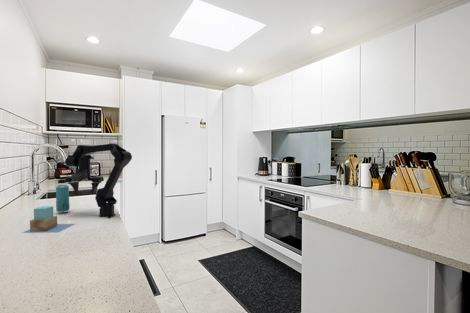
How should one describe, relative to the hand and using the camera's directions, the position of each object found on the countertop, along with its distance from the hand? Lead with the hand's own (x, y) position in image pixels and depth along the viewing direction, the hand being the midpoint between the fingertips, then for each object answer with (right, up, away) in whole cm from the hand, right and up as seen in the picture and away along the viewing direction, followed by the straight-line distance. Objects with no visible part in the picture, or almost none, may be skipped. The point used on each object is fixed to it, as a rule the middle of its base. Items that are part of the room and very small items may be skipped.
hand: (84, 194), depth 134 cm
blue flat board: (-1, -13, -24) cm, 27 cm away
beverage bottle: (-16, -12, +5) cm, 21 cm away
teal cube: (-3, -7, -25) cm, 26 cm away
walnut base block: (-3, -12, -25) cm, 28 cm away
